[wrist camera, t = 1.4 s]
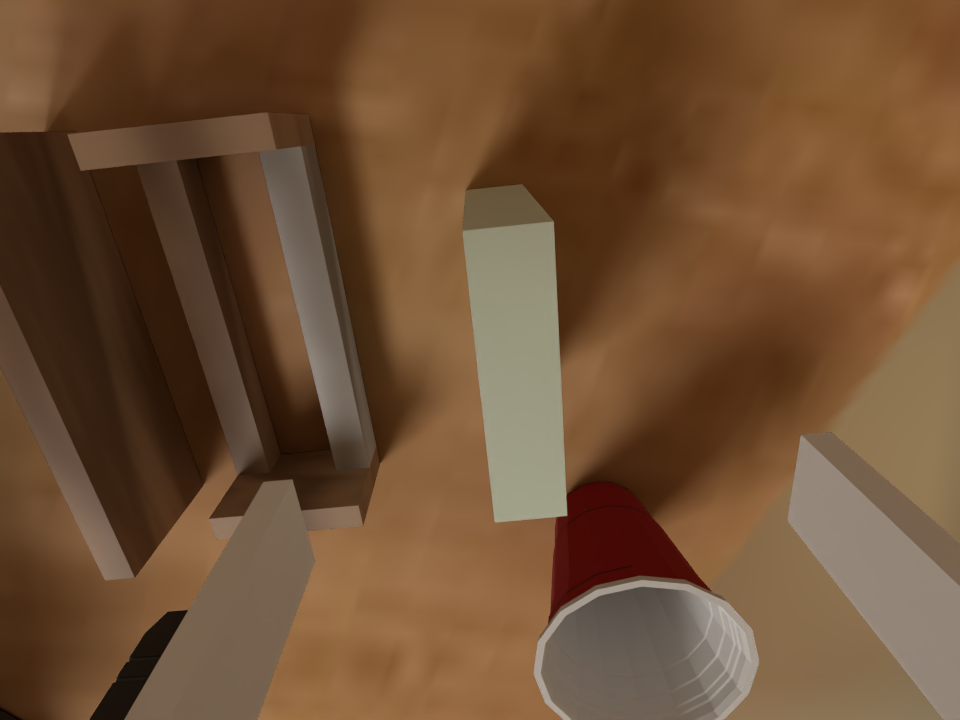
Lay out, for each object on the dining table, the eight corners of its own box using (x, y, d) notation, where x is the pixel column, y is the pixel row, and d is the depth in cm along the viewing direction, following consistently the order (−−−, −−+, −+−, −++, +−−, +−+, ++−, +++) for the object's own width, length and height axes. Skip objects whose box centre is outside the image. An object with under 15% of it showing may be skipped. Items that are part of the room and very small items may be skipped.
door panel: (486, 392, 34) (494, 522, 23) (465, 190, 29) (462, 230, 18) (535, 387, 34) (567, 515, 23) (522, 184, 29) (553, 221, 18)
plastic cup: (590, 416, 34) (646, 553, 23) (708, 501, 37) (808, 660, 26) (484, 526, 38) (489, 691, 27) (599, 596, 40) (647, 773, 29)
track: (179, 487, 36) (104, 580, 29) (44, 134, 28) (-112, 138, 20) (381, 468, 36) (357, 558, 28) (306, 105, 27) (246, 99, 20)
